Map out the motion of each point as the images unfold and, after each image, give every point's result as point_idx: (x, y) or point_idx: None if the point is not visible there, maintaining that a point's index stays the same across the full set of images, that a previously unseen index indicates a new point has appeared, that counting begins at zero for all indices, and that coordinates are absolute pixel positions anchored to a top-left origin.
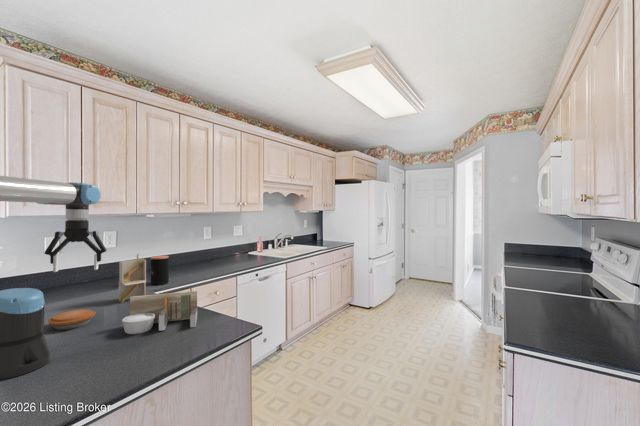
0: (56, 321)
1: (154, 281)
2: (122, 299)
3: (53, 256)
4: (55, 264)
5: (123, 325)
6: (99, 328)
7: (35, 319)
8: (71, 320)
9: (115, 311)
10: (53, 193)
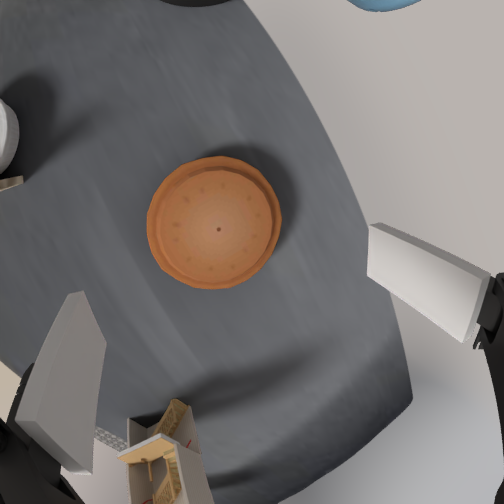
0: (239, 170)
1: None
2: (177, 407)
3: (486, 272)
4: (415, 245)
5: (10, 112)
6: (101, 163)
7: None
8: (191, 171)
9: (139, 326)
10: None
